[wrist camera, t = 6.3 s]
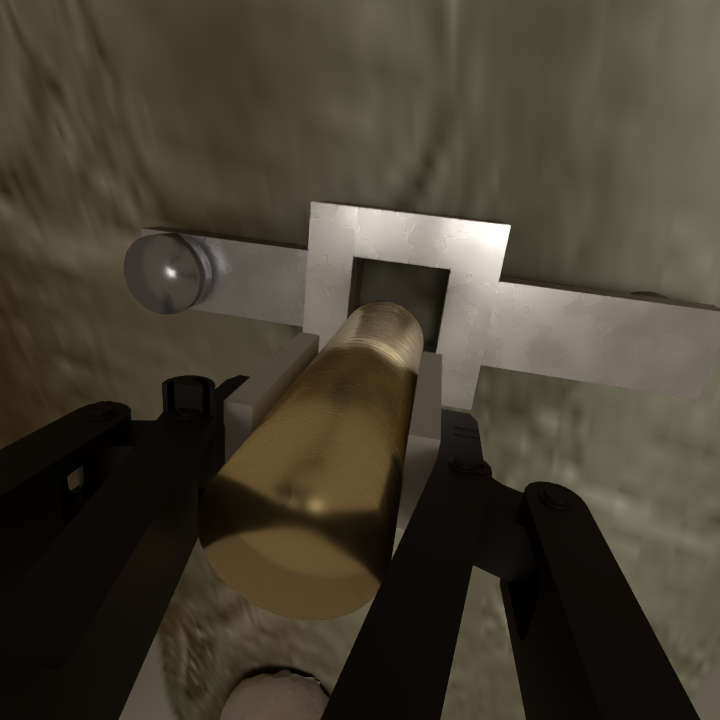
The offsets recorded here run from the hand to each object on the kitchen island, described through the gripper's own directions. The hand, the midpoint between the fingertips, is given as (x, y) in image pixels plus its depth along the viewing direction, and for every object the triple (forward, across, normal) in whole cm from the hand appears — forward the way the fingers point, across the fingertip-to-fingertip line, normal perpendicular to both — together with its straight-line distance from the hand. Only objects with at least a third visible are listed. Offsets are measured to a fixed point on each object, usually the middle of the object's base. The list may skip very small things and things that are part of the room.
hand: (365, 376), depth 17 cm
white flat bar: (+14, 0, 0) cm, 14 cm away
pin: (+5, 0, 0) cm, 5 cm away
